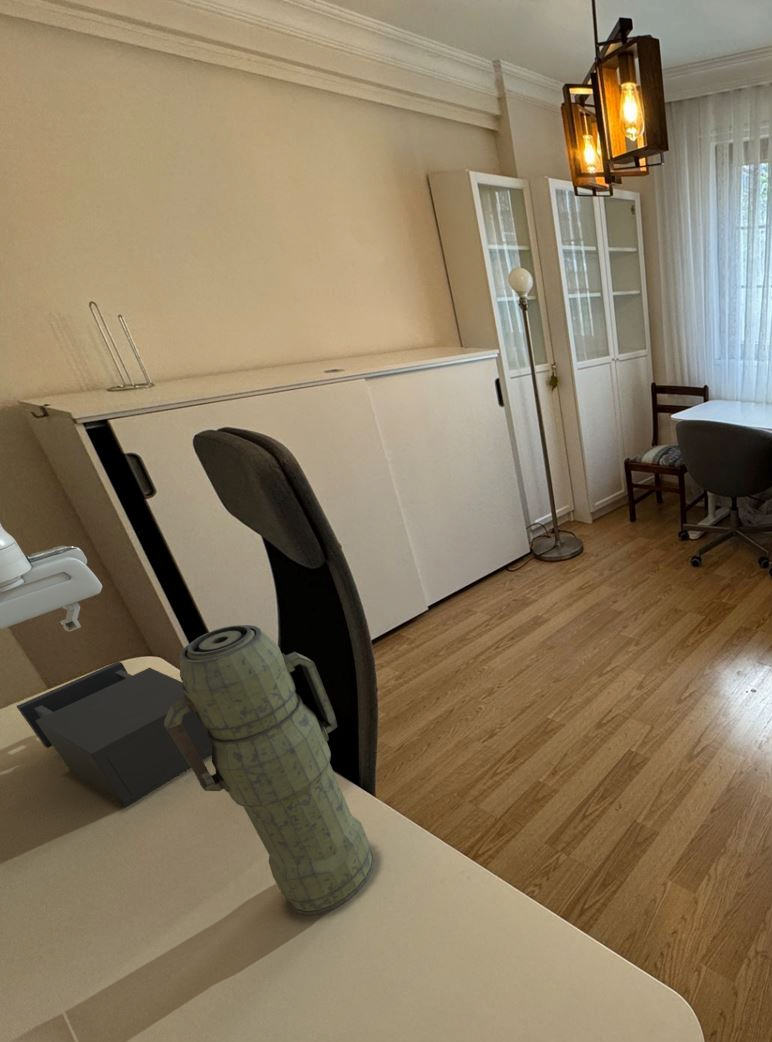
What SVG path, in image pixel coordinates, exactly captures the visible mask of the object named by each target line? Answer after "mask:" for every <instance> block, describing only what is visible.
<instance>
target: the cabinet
mask: <svg viewBox="0 0 772 1042" xmlns="http://www.w3.org/2000/svg"><path fill="white" fill-rule="evenodd" d="M131 675H132V674H131ZM182 688H183V682H182V680H181V681H180V680H179V679H177V678H174V677H172V676H169V675H167V674H165V673H163V672H161V671H158V670H156V669H154V668H152V667H148V668H146V669H143V670H141V671H139V672H136V673H135V674H133V675H132V676H130V677H128V678H126V679H124V680H122V681H119V682H117V683H115V684H113V685H111V686H109V687H106V688H104V689H102V690H100V691H98V692H96V693H94V694H91V695H89V696H87V697H85V698H83V699H81V700H78V701H76V702H74V703H72V704H70V705H68V706H65V707H63V708H61V709H59V710H57V711H55V712H52V713H50V714H48V715H46V716H44V717H42V718H39V719H37V720H35V721H36V723H37V724H38V725H39V727H40V728H41V730H42V731H43V733H44V734H45V736H46V737H47V738H48V740H49V741H50V743H51V744H52V746H51V747H53V749H54V750H55V751H56V753H57V754H58V757H60V759H61V760H62V761H63V764H64V765H65V766H66V767H67V769H68V770H69V772H71V773H72V774H74V775H75V776H76V777H78V778H80V779H81V780H83V781H85V782H86V783H87V784H89V785H90V786H93V787H94V788H96V789H97V790H98V791H100V792H102V793H103V794H105V795H107V796H108V797H110V798H111V799H113V800H114V801H116V802H117V803H119V804H120V805H122V806H123V807H125V808H127V807H128V806H130V805H132V804H133V803H135V802H137V801H138V800H140V799H141V798H143V797H145V796H147V795H148V794H150V793H151V792H153V791H154V790H156V789H158V788H159V787H162V786H163V785H164V784H167V782H170V781H171V780H173V779H174V778H176V777H177V776H179V775H181V774H183V773H184V772H186V771H187V770H189V769H192V768H191V767H190V765H189V763H188V762H187V760H186V759H185V757H184V756H183V754H182V753H181V751H180V749H179V748H178V746H177V745H176V743H175V742H174V740H173V738H172V737H171V735H170V734H169V732H168V731H167V729H166V727H165V726H164V720H165V718H166V716H167V713H168V711H169V709H170V707H171V704H172V703H174V702H175V701H177V700H179V699H181V698H182V697H184V696H185V692H184V690H183V689H182ZM182 725H183V726H184V728H185V730H186V732H187V734H188V735H189V737H190V739H191V741H192V743H193V744H194V746H195V748H196V750H197V751H198V753H199V755H200V757H201V759H202V760H203V761H204V760H205V759H207V758H208V757H210V756H212V743H211V741H210V739H209V738H208V729H207V728H205V727H204V726H203V725H202V724H201V722H200V720H199V719H198V717H197V715H196V713H194V712H193V711H190V712H188V713H186V714H184V717H183V721H182Z"/></svg>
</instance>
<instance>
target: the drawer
mask: <svg viewBox="0 0 772 1042" xmlns="http://www.w3.org/2000/svg"><path fill="white" fill-rule="evenodd" d="M130 676H132V674H130V673H128V671H127V669H126V667H125V666H124V664H123V662H121V661H115V662H113V663H112V664H109V665H107V666H105V667H102V668H100V669H98V670H95V671H93V672H91V673H89V674H85V675H83V676H82V677H79V678H77V679H75V680H72V681H70V682H68V683H66V684H63V685H61V686H58V687H57V688H54V689H52V690H50V691H48V692H45V693H42V694H40V695H37V696H36V697H33V698H31V699H29V700H26V701H25V702H22V703H20V704H17V705H16V708H17V710H18V711H19V712H20V714H21V715H22V717H23V718H24V720H25V722H27V724H28V726H29V727H30V729H31V730H32V731H33V732H34V734H35V735H36V737H37V738H38V740H39V741H40V742H41V744H42V745H43V747H45V748H47V749H49V748H51V747H53V746H52V744H51V743H50V741H49V740H48V738H47V737H46V736H45V734H44V733H43V731H42V730H41V728H40V727H39V725H38V724H37V723H36V721H35V720H37V719H39V718H42V717H44V716H46V715H48V714H50V713H52V712H55V711H57V710H59V709H61V708H63V707H65V706H68V705H70V704H72V703H74V702H76V701H78V700H81V699H83V698H85V697H87V696H89V695H91V694H94V693H96V692H98V691H100V690H102V689H104V688H106V687H109V686H111V685H113V684H115V683H117V682H119V681H122V680H124V679H126V678H128V677H130Z"/></svg>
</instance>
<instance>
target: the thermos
mask: <svg viewBox="0 0 772 1042" xmlns="http://www.w3.org/2000/svg"><path fill="white" fill-rule="evenodd" d="M298 665H300V666H301V669H302V670H303V674H304V676H305V678H306V681H307V684H308V685H309V689H310V691H311V693H312V695H313V698H314V700H315V703H316V705H317V708H318V710H319V712H320V715H321V717H322V719H323V721H320V720H319V719H318V717H317V715H316V712H314V711H313V710H312V709H310V708H309V707H308V706H307V705H306V704H305V703H304V702H303V700H302V698H301V696H300V694H298V692H296V690H297V688H296V685H295V682H294V679H293V677H292V674H291V673H292V672H294V671H296V668H295V667H296V666H298ZM179 677H180V680H181V682H183V688H182V689H183V690H184V692H185V696H184V697H182V698H181V699H179V700H177V701H175V702H174V703H172V704H171V707H170V709H169V711H168V713H167V716H166V718H165V720H164V726H165V727H166V729H167V731H168V732H169V734H170V735H171V737H172V738H173V740H174V742H175V743H176V745H177V746H178V748H179V749H180V751H181V753H182V754H183V756H184V757H185V759H186V760H187V762H188V763H189V765H190V767H191V768H190V769H191V770H192V772H193V773H194V775H195V777H196V780H197V781H198V783H199V785H200V787H201V788H202V789H203V790H204V792H220V791H222V790H225V792H226V793H228V795H229V797H230V798H231V799H232V800H233V802H235V803H236V805H239V806H241V807H243V809H244V811H245V812H246V814H247V816H248V819H249V820H250V822H251V824H252V826H253V827H254V829H255V831H256V833H257V835H258V837H259V839H260V841H261V842H262V844H263V846H264V849H265V850H266V852H267V853H268V864H269V868H270V872H271V875H272V877H273V879H274V881H275V883H276V885H277V887H278V888H279V890H280V893H281V894H282V895H283V896H284V897H285V898H286V899H287V900H288V901H289V905H290V907H291V908H292V909H293V910H294V911H295V912H296V913H298V914H300V915H304V916H316V915H321V914H324V913H327V912H330V911H332V910H334V909H337V908H338V907H339V906H342V905H343V904H345V903H347V902H348V901H350V900H351V898H353V897H354V896H356V894H357V893H358V892H360V890H361V889H362V888H363V887H364V886H365V884H366V883H367V882H368V880H369V878H370V877H371V874H372V873H373V870H374V865H375V858H374V855H373V852H372V850H371V849H370V847H371V844H370V841H369V838H368V835H367V834H366V830H365V828H364V826H363V824H362V821H360V820H359V819H358V818H357V817H355V816H354V815H352V813H351V810H350V808H349V805H348V802H347V800H346V798H345V796H344V794H343V791H342V789H341V786H340V784H339V781H338V778H337V776H336V775H335V772H334V770H333V767H332V765H331V763H330V762H331V757H332V753H331V750H330V746H329V744H328V742H329V740H330V738H329V735H328V734H329V733H331V732H332V731H334V730H335V729H337V728H338V722H337V718H336V715H335V712H334V709H333V706H332V703H331V701H330V699H329V696H328V694H327V692H326V689H325V686H324V684H323V681H322V679H321V676H320V674H319V671H318V669H317V666H316V663H315V662H314V661H313V660H311V659H310V658H309V657H307V656H305V655H303V654H300V653H298V652H296V651H292V652H291V653H289V654H285V653H284V652H283V653H282V651H281V649H280V646H279V645H278V644H277V643H276V642H275V641H274V640H273V639H272V638H271V637H270V636H269V635H268V634H266V633H265V632H264V631H263V630H262V629H261V628H259V627H258V626H256V625H249V624H243V625H241V624H239V625H230V626H224V627H220V628H218V629H214V630H211V631H209V632H206V633H204V634H202V635H200V636H198V637H197V638H196V639H194V640H193V641H191V642H190V643H188V644H187V645H185V646H184V648H183V649H182V650H181V651H180V652H179ZM190 711H193V712H194V713H196V715H197V717H198V719H199V720H200V722H201V724H202V725H203V726H204V727H205V728H207V729H208V738H209V739H210V741H211V743H212V755H211V763H212V766H213V767H214V769H215V773H214V774H211V773H210V771H209V769H208V768H207V766H206V763H205V762H204V760H202V759H201V757H200V755H199V753H198V751H197V750H196V748H195V746H194V744H193V743H192V741H191V739H190V737H189V735H188V734H187V732H186V730H185V728H184V726H183V725H182V721H183V717H184V714H186V713H188V712H190Z"/></svg>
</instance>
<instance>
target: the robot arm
mask: <svg viewBox="0 0 772 1042" xmlns="http://www.w3.org/2000/svg"><path fill="white" fill-rule="evenodd" d="M87 564H88V558H87V557H86V555H85V553H84V551H83V550H82V549H81V548H79V547H77V546H71V545H69V546H68V545H67V546H66V545H63V544H62V545H57V546H54V547H52V548H50V549H46V550H41V551H37V552H33V553H30V554H27V555H26V554H24V552H23V550H22V548H21V547H20V546H19V544H18V543H17V541H16V539H15V538H14V537H13V536H12V535H11V534H10V533H8V532H7V531H6V530H5V528H4V527H3V526H2V524H1V522H0V630H3V629H6V628H8V627H11V626H12V627H13V626H14V625H17V624H20V623H22V622H26V621H29V620H30V619H34V618H36V617H39V616H42V615H45V614H48V613H51V612H53V611H55V610H59V609H61V608H62V609H64V610H66V616H65V618H64V619H62V620H60V621H59V623H60V625H62V628H63V629H64V630H65V631H66V632H68V633H70V632H73V631H75V630H78V629H81V628H82V626H81V624H80V621H79V620H78V618H79V614H80V610H81V605H80V604H79V602H80V601H84V600H86V599H89V598H91V597H94V596H97V595H100V593H101V592H102V589H103V584H102V582H101V581H100V580H99V578H98V577H97V576H96V574H95V573H94V572H93V571H92V569H90V568H89V566H88V565H87Z"/></svg>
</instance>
